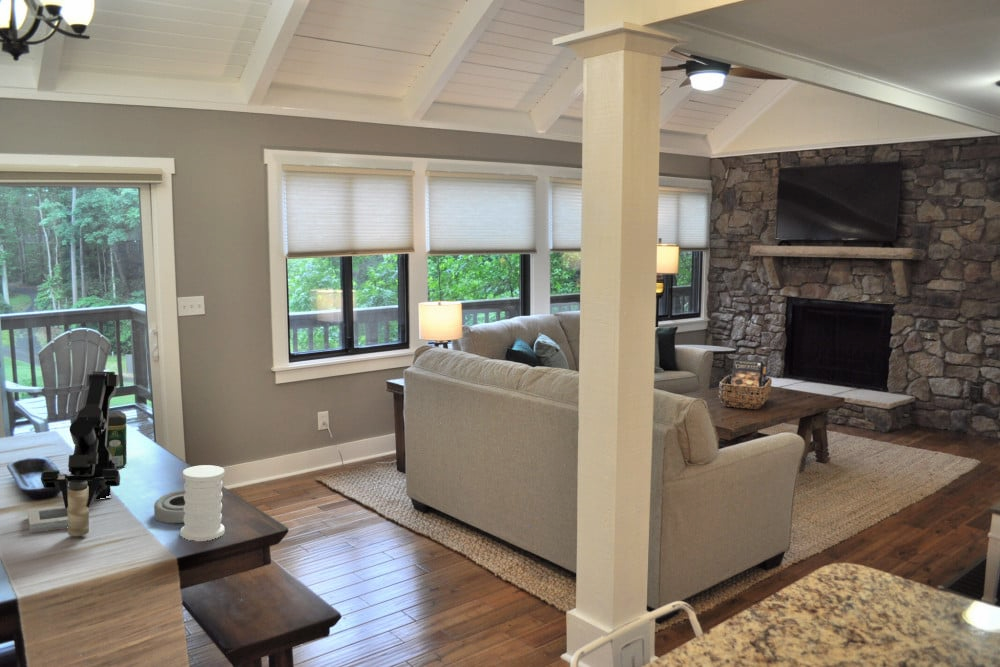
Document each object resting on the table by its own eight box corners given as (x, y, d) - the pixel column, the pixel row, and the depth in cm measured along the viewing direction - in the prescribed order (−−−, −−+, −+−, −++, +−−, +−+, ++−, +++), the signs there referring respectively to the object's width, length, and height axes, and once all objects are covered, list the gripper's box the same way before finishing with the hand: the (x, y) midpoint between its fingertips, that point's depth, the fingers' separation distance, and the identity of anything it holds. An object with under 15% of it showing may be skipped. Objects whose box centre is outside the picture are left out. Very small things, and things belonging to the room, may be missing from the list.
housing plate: (76, 512, 231) (76, 503, 231) (80, 526, 221) (80, 518, 221) (28, 517, 225) (27, 509, 224) (29, 533, 215) (29, 524, 214)
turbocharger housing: (143, 520, 232) (176, 533, 225) (142, 499, 231) (175, 511, 223) (192, 501, 246) (225, 512, 239) (191, 481, 245) (224, 492, 238)
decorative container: (193, 544, 215) (194, 480, 212) (172, 531, 222) (173, 469, 220) (232, 534, 223) (233, 472, 221) (211, 522, 231) (212, 462, 228)
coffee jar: (100, 461, 277) (100, 409, 274) (126, 459, 280) (126, 408, 278) (101, 470, 268) (101, 416, 265) (126, 468, 272) (127, 415, 269)
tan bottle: (87, 527, 218) (87, 478, 216) (89, 534, 214) (89, 484, 212) (67, 530, 215) (66, 480, 213) (68, 537, 211) (68, 486, 209)
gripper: (41, 441, 212) (31, 495, 203) (118, 440, 218) (112, 493, 209) (49, 461, 221) (39, 513, 212) (122, 459, 226) (116, 510, 217)
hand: (77, 507), depth 212 cm, fingers closed on tan bottle, 5 cm apart
